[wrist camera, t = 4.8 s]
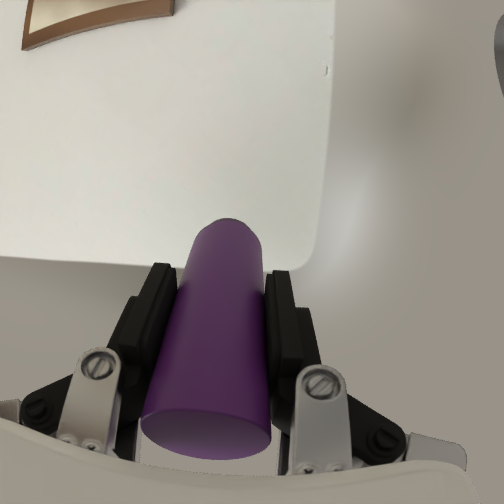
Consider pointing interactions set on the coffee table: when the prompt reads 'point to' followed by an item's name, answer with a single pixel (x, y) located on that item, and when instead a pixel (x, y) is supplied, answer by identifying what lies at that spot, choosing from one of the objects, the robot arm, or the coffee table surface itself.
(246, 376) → the marker
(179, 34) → the coffee table surface
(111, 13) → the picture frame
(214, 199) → the coffee table surface
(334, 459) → the robot arm
